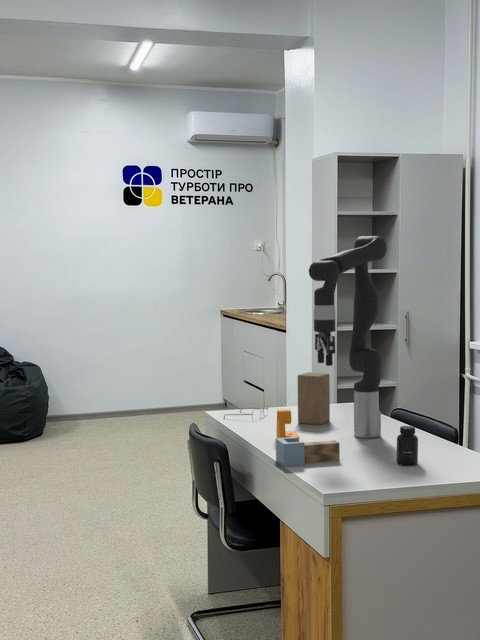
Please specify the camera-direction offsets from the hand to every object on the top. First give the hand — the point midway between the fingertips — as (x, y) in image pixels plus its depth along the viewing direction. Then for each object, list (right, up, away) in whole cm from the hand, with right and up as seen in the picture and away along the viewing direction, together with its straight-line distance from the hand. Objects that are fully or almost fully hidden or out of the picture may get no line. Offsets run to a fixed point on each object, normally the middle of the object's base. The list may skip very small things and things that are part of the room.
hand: (324, 364), depth 285 cm
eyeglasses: (-26, -27, +66) cm, 76 cm away
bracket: (-12, -30, +15) cm, 35 cm away
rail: (-5, -31, -16) cm, 35 cm away
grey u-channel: (-13, -31, -18) cm, 38 cm away
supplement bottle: (+24, -31, -21) cm, 45 cm away
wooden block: (+1, -27, +51) cm, 58 cm away
